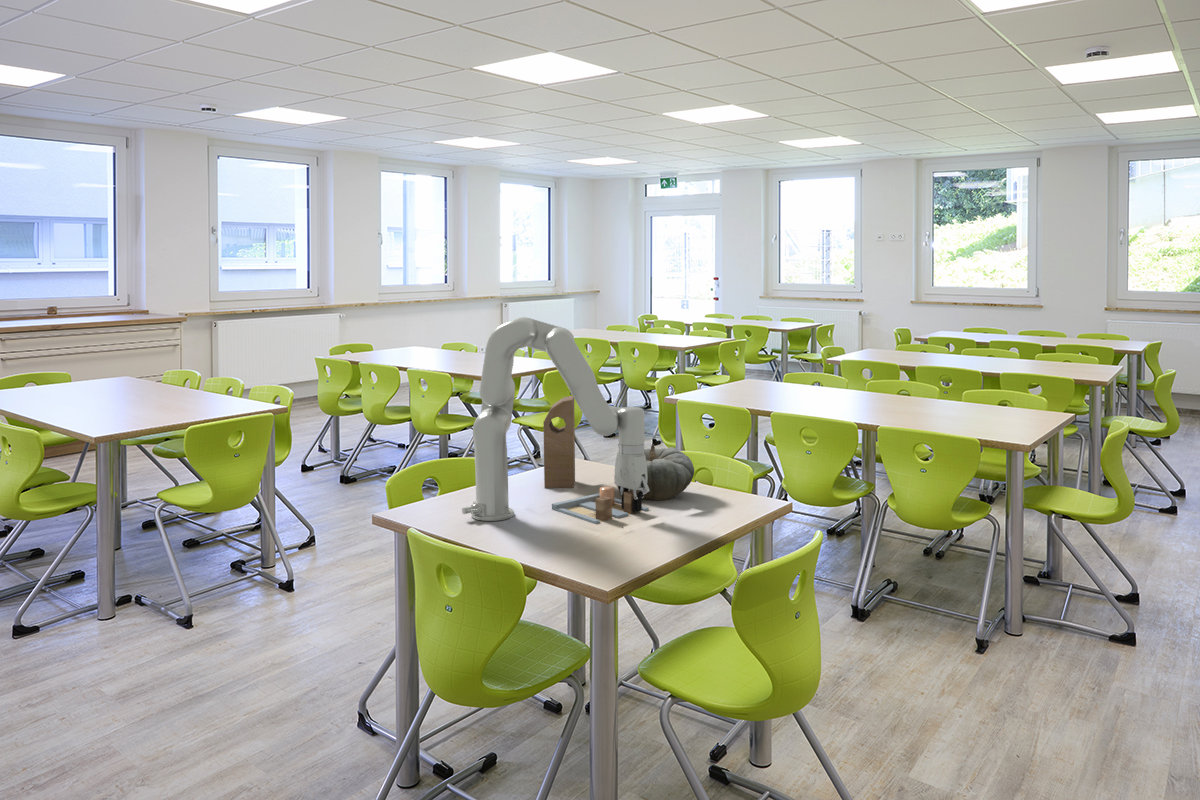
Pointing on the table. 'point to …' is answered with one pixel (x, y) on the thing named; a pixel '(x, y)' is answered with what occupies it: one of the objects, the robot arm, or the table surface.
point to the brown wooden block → (603, 509)
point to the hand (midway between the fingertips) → (631, 509)
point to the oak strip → (626, 503)
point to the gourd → (667, 472)
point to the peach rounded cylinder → (608, 493)
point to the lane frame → (588, 504)
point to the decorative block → (560, 446)
